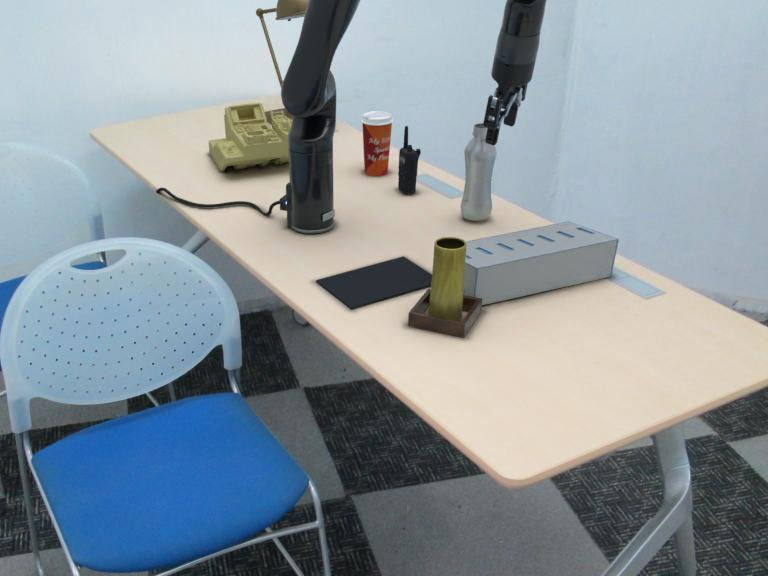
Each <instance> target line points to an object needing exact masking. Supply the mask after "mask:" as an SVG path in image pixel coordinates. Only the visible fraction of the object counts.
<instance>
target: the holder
mask: <svg viewBox="0 0 768 576" xmlns="http://www.w3.org/2000/svg"><path fill="white" fill-rule="evenodd" d="M430 292H431V288H428V289H427V290H426V291H425V292H424V293H423V294H422V296H420V298H419V299H418V301H417V302H416V303H415V304H414V305H413V307H412V308H411V309H410V310H409V312H408V319H407V321H408V322H407V326H408V327H411V328H416V329H420V330H426V331H431V332H434V333H439V334H444V335H450V336H454V337H459V338H465V337H466V335H467V334H468V332H469V331H470V329H471V328H472V326H473V325H474V323H475V322H476V320H477V319H478V318H479V315H480V314H481V312H482V309H483V308H482V306H483V305H482V299H481V298H476V297H471V296H465V295H463V308H462V311H465V312H467V313H466V314H465V316H464V317H463V320H462V321H457V320H452V319H447V318H442V317H437V316H432V315H428V313H427V314H426V313H425V311H426V310H427V309H428V308H429V301H430Z"/></svg>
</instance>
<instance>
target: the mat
mask: <svg viewBox="0 0 768 576" xmlns="http://www.w3.org/2000/svg"><path fill="white" fill-rule="evenodd" d="M431 282H432V273H431V272H429V271H427V270H426V269H424V268H422V267H421V266H419V265H418V264H416V263H415V262H413V261H412V260H410V259H409V258H407V257H405V256H399V257H396V258H392V259H389V260H385V261H381V262H378V263H373V264H369V265H366V266H362V267H359V268H355V269H352V270H348V271H345V272H341V273H337V274H333V275H329V276H325V277H323V278H319V279H315V283H317V284H318V285H319V286H320V287H321V288H323V289H325V290H326V291H327V292H328V293H329V294H331V295H332V296H333V297H334V298H336V299H337V300H338V301H340V302H341V303H342V304H343V305H345V306H346V307H347V308H348V309H350V310H354V309H358V308H361V307H364V306H368V305H371V304H375V303H378V302H382V301H385V300H388V299H389V300H390V299H393V298H395V297H399V296H403V295H406V294H409V293H412V292H417V291H419V290H423V289H426V288H431Z"/></svg>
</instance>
